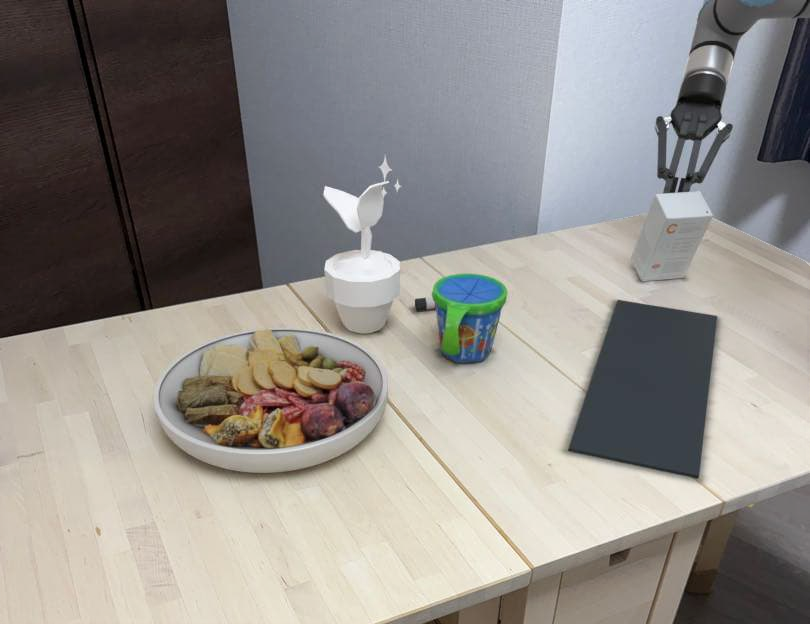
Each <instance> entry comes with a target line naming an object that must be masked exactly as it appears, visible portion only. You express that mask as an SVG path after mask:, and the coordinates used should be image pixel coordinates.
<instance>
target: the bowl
mask: <svg viewBox="0 0 810 624" xmlns="http://www.w3.org/2000/svg"><path fill="white" fill-rule="evenodd" d="M388 396H389V378H388V374H387V372H386V369H385V366H384V365H383V363H382V361H380V359H379V358H378V357H377V356H376V355H375V354H374V353H372V351H370V350H369V349H368V348H367V347H365V346H363V345H362V344H359V343H358V342H356V341H354V340H352V339H350V338H347V337H345V336H342V335H339V334H336V333H332V332H328V331H323V330H318V329H313V328H304V327H287V326H284V327H283V326H281V327H280V326H279V327H263V328H255V329H250V330H242V331H238V332H233V333H229V334H225V335H222V336H219V337H216V338H213V339H210V340H208V341H205V342H202V343H201V344H199V345H195V346H194V347H192V348H190V349H189V350H187V351H186V352H184V353H182V354H181V355H179V356H177V358H175V359H174V360H173V361H172V362H171V363H170V364H169V365H168V366H167V367H166V368H165V369H164V370H163V372H162V373H161V374H160V375H159V377H158V378H157V380H156V383H155V386H154V388H153V394H152V403H153V407H154V408H153V409H154V411H155V415H156V418H157V420H158V423H159V425H160V427H161V429H162V430H163V431H164V433H165V434H166V435H167V437H168V438H169V439H170V441H172V443H174V444H175V445H176V446H177V447H178V448H179V449H181V451H183V452H185V453H186V454H188V455H190V456H192V457H193V458H195V459H197V460H199V461H201V462H203V463H205V464H209V465H212V466H214V467H217V468H221V469H226V470H231V471H235V472H241V473H242V472H243V473H256V474H268V473H270V474H271V473H272V474H275V473H285V472H291V471H297V470H302V469H306V468H311V467H313V466H317V465H321V464H324V463H326V462H328V461H330V460H333V459H336V458H337V457H340V456H342V455H344V454H345V453H347V452H349V451H350V450H352V449H353V448H354V447H356V446H357V445H359V444H360V443H361V442H363V440H364V439H365V438H367V437H368V436H369V434H371V432H372V431H374V429H375V428H376V426H377V425H378V423H379V422H380V420H381V418H382V416H383V414H384V412H385V409H386V407H387V403H388Z"/></svg>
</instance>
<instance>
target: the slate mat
mask: <svg viewBox="0 0 810 624" xmlns="http://www.w3.org/2000/svg"><path fill="white" fill-rule="evenodd" d="M717 320H718V316H717V315H713V314H708V313H703V312H695V311H689V310H683V309H677V308H671V307H665V306H658V305H652V304H647V303H639V302H634V301H629V300H628V301H627V300H622V299H617V301H616V304H615V307H614V310H613V313H612V316H611V318H610V323H609V324H608V329H607V331H606V333H605V337H604V340H603V343H602V347H601V349H600V352H599V356H598V357H597V361H596V364H595V368H594V371H593V375H592V376H591V380H590V382H589V386H588V389H587V392H586V395H585V397H584V401H583V404H582V406H581V410H580V413H579V416H578V419H577V421H576V425H575V428H574V431H573V434H572V437H571V440H570V442H569V446H568V450H567V451H568V452H571V453H576V454H580V455H584V456H585V455H586V456H591V457H595V458H598V459H599V458H600V459H605V460H609V461H613V462H618V463H623V464H628V465H632V466H637V467H642V468H647V469H651V470H656V471H659V472H665V473H669V474H675V475H678V476H684V477H688V478H693V479H696V480H697V479H699V477H700V471H701V463H702V453H703V445H704V437H705V427H706V419H707V409H708V400H709V393H710V384H711V375H712V366H713V357H714V348H715V340H716V339H715V338H716V330H717Z"/></svg>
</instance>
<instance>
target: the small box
mask: <svg viewBox="0 0 810 624" xmlns="http://www.w3.org/2000/svg"><path fill="white" fill-rule="evenodd" d="M713 217H714V214H713V212H712V211H711V209H710V207H709V205H708V203H707V201H706V199H705V197H704V195H703V194H702V193H701V191H700V190H697V191H689V192H680V193H677V192H675V193H665V194H663V193H654V197H653V200H652V202H651V204H650V207H649V210H648V212H647V214H646V218H645V220H644V222H643V226H642V228H641V231H640V234H639V235H638V237H637V241H636V243H635V246H634V249H633V252H632V254H631V258H630V259H631V261H632V263H633V265H634V267H635V269H636V272H637V274H638V277H639V279H640V281H641V282H650V281H661V280H673V279H674V280H676V279H684V277H685V275H686V273H687V271H688V269H689V267H690V265H691V263H692V261H693V258H695V257H694V256H695V255H696V253H697V250H698V248H699V246H700V244H701V242H702V240H703V238H704V235H705V234H706V231H707V229H708V227H709V225H710V223H711V221H712V219H713Z"/></svg>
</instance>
